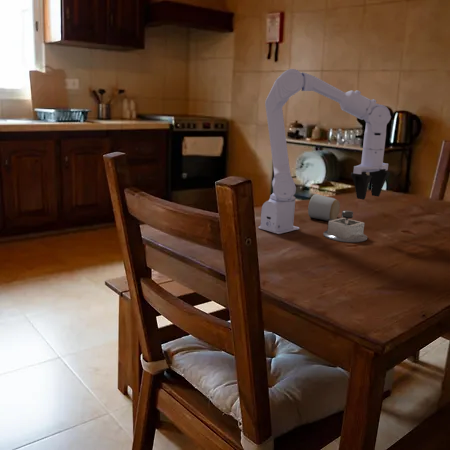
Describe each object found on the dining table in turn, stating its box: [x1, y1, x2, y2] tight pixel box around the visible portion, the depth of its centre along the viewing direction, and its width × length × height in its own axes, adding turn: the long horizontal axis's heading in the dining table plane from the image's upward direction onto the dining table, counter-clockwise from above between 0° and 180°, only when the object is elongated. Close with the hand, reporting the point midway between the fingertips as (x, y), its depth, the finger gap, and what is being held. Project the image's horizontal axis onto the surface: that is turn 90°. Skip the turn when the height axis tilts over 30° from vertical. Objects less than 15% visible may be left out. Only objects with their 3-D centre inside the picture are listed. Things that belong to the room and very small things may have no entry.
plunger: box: [341, 209, 354, 225], centre depth 141 cm, size 5×5×6 cm
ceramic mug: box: [307, 193, 341, 222], centre depth 161 cm, size 11×8×8 cm
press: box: [323, 217, 368, 244], centre depth 142 cm, size 12×12×4 cm
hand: (368, 197), depth 144 cm, fingers open, 7 cm apart
